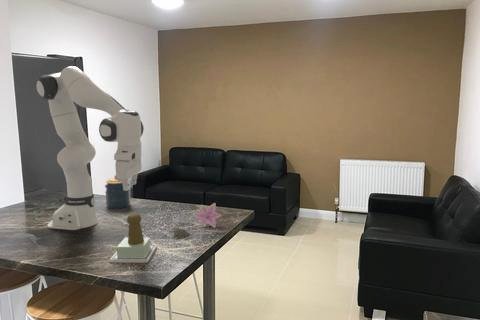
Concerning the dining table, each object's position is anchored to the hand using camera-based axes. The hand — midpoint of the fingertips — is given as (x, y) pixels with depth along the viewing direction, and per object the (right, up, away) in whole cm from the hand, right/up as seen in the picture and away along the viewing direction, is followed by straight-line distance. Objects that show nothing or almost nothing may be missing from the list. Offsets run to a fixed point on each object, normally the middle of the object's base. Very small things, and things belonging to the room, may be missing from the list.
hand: (129, 187), depth 153 cm
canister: (-25, -15, +66) cm, 72 cm away
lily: (+28, -21, +34) cm, 48 cm away
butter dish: (+2, -26, -1) cm, 26 cm away
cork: (+3, -21, -2) cm, 21 cm away
